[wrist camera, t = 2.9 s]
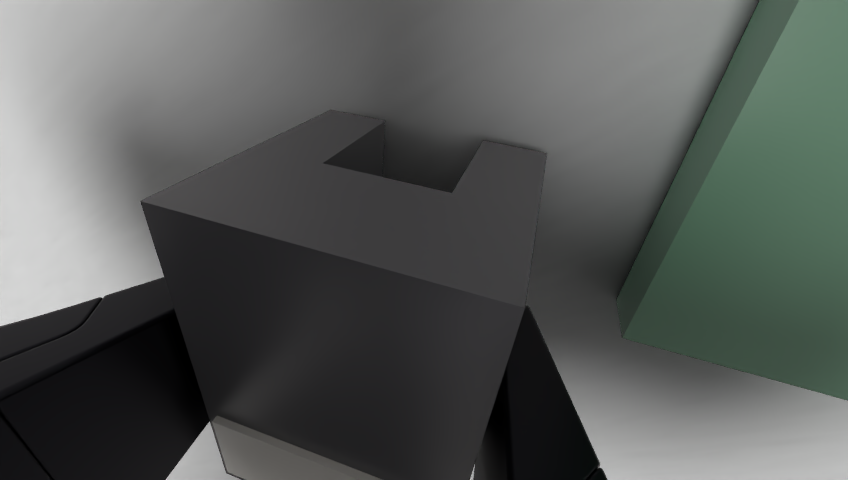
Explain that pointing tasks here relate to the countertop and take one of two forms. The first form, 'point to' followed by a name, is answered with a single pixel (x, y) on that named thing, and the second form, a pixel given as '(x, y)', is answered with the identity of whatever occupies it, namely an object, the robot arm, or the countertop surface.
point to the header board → (759, 213)
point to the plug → (348, 301)
